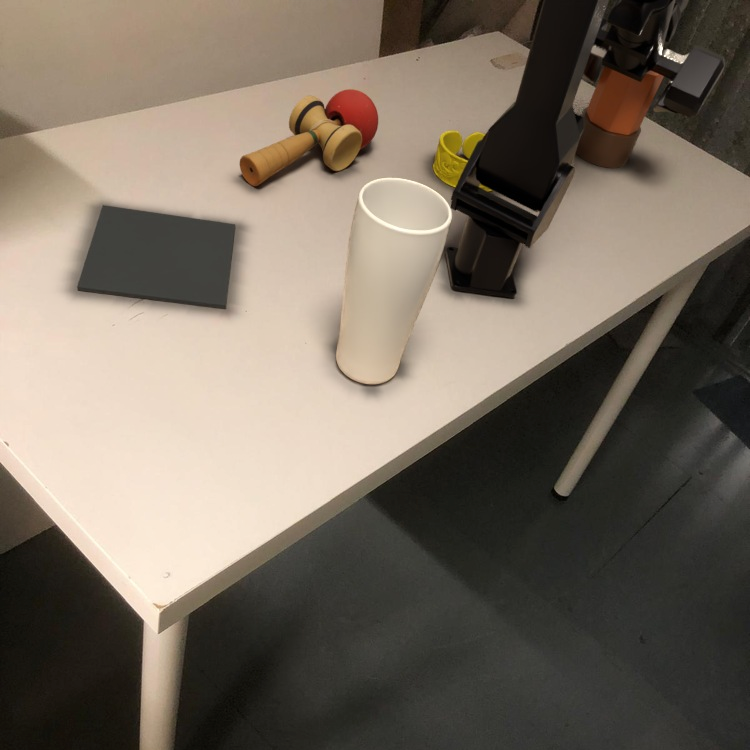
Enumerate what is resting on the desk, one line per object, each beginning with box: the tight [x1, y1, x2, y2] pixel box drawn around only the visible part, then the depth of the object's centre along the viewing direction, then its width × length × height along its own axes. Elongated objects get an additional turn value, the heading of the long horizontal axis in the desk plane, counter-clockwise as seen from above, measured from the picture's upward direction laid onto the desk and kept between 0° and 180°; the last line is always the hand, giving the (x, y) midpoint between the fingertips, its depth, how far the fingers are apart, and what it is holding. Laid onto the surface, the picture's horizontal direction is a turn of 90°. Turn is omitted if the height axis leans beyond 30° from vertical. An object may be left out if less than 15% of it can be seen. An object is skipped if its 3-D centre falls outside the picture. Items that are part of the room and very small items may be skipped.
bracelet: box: [432, 130, 493, 192], centre depth 84 cm, size 7×8×3 cm
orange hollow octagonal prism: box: [586, 66, 664, 135], centre depth 90 cm, size 6×6×7 cm
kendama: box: [239, 88, 379, 187], centre depth 79 cm, size 8×6×18 cm
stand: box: [575, 106, 642, 169], centre depth 92 cm, size 8×8×8 cm
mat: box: [76, 204, 236, 310], centre depth 66 cm, size 12×12×1 cm
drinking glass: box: [335, 177, 453, 385], centre depth 57 cm, size 7×7×15 cm
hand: (626, 93), depth 91 cm, fingers open, 8 cm apart
